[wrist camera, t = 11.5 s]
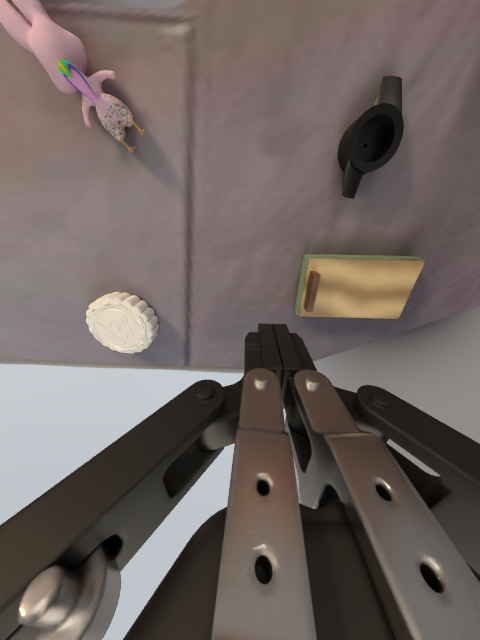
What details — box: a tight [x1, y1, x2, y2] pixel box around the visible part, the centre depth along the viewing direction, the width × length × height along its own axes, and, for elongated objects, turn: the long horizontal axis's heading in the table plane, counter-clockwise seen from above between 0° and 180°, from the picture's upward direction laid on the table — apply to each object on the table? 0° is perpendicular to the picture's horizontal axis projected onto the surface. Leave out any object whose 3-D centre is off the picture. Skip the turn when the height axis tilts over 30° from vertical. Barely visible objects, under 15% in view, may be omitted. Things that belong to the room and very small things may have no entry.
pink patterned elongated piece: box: [0, 0, 146, 155], centre depth 19 cm, size 6×6×15 cm
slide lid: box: [299, 258, 425, 319], centre depth 29 cm, size 10×17×3 cm, turn 89°
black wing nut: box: [338, 76, 404, 198], centre depth 23 cm, size 8×10×3 cm
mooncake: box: [86, 292, 159, 354], centre depth 35 cm, size 12×12×4 cm
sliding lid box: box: [294, 254, 422, 315], centre depth 32 cm, size 10×17×2 cm, turn 89°
